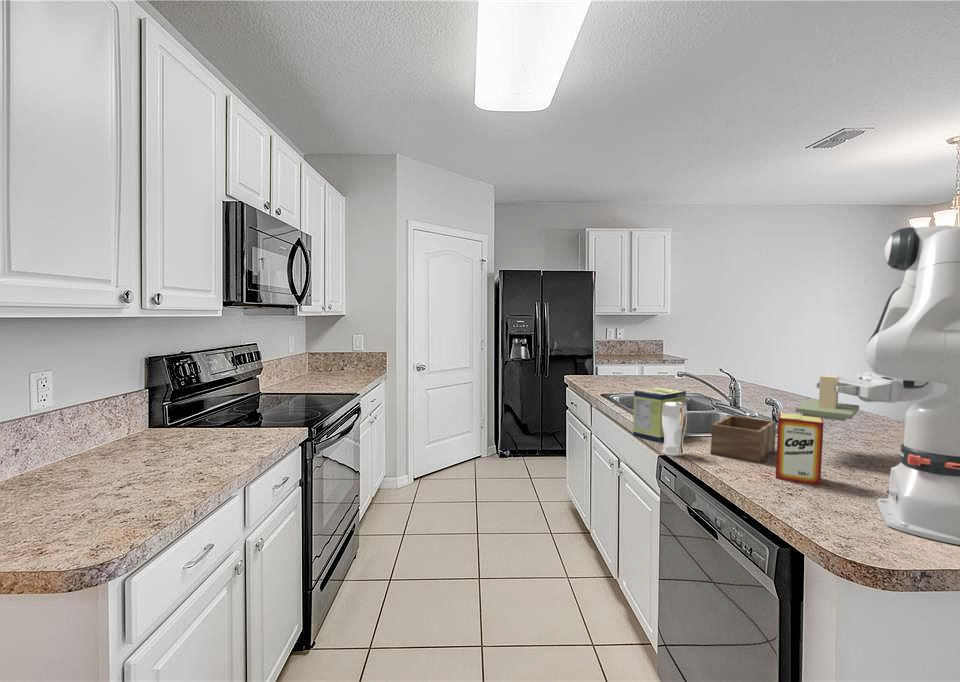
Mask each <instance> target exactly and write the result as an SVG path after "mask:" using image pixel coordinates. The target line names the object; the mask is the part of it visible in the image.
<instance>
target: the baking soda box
mask: <svg viewBox="0 0 960 682" xmlns="http://www.w3.org/2000/svg"><path fill="white" fill-rule="evenodd" d="M777 419H778V420H777V439H776V440H777V441H776V461H775V465H776V466H775V479H777V480H784V481H791V482H796V483H802V484H803V483H804V484H808V485H809V484H810V485H814V486H815V485H816V486H821V482H822V481H821V480H822V477H821V476H822V463H823V462H822V459H823V458H822V457H823V439H824V420H823V419H824V418H818V417H809V416H803V415H801V414H800V413H799V414H797V413H796V414H795V413H792V414H791V413H778V418H777Z"/></svg>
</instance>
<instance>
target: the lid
mask: <svg viewBox="0 0 960 682" xmlns="http://www.w3.org/2000/svg"><path fill="white" fill-rule="evenodd" d="M819 377H820V388H819V393H818V400H813V399H807V400H806V401H804V402H803V403H802V404H800V405H798V406H797V407H796V408H795V413H796V414H797V413H799V414H802V416H809V417H818V418H822V419H825V420H834V421H841V422H842V421H844V422H846V421H847V420H848V419H849V420H852V419H853V418H854V416H855V415H856V414H857V413H858V412H859V410H860V405H859V404H852V403H851V404H850V403H841V402H838V400H839V393H838V392H834V391H833V390H834V386H839V377H840V375H828V374H827V375H825V374H822V375H820V376H819Z"/></svg>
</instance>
